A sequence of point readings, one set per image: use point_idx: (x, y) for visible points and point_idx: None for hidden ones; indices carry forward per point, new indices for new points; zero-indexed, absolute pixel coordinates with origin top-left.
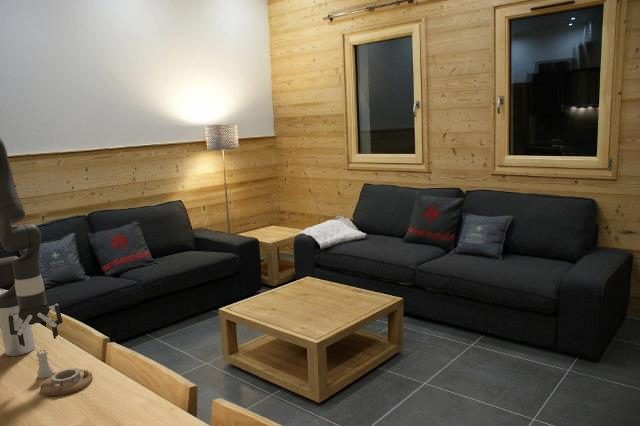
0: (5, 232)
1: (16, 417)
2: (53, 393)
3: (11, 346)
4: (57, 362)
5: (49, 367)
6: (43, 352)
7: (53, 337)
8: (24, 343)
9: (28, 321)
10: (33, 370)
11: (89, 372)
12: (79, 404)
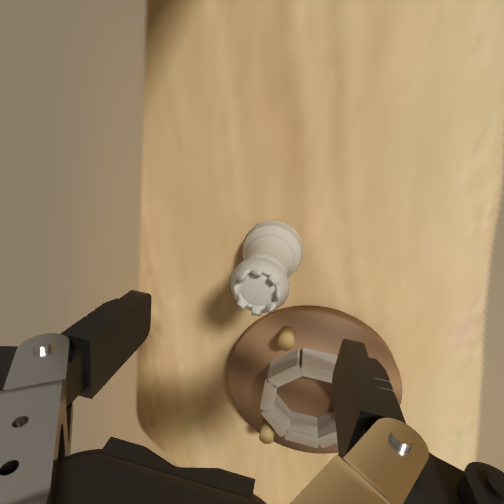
0: None
1: (158, 434)
2: (253, 425)
3: None
4: (353, 146)
5: (287, 273)
6: (264, 302)
7: (339, 355)
8: (136, 347)
9: None
10: (245, 153)
11: (397, 396)
12: None
